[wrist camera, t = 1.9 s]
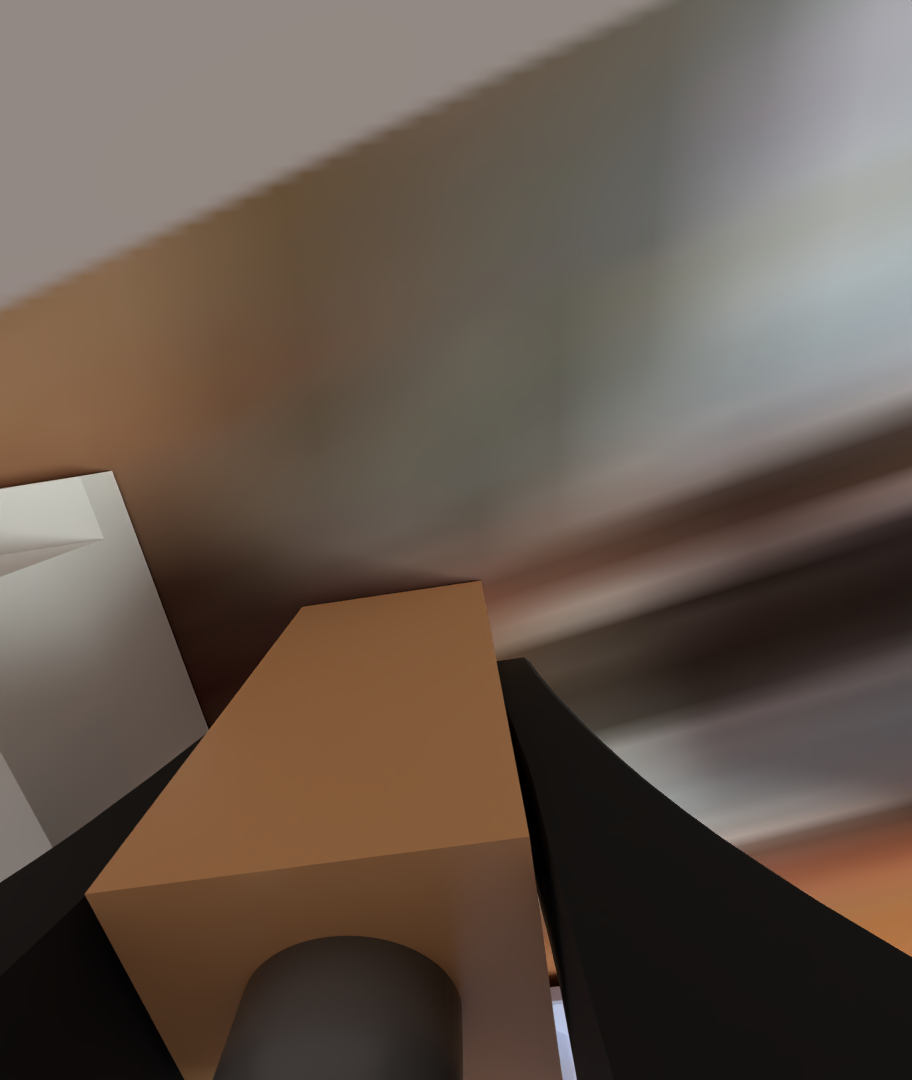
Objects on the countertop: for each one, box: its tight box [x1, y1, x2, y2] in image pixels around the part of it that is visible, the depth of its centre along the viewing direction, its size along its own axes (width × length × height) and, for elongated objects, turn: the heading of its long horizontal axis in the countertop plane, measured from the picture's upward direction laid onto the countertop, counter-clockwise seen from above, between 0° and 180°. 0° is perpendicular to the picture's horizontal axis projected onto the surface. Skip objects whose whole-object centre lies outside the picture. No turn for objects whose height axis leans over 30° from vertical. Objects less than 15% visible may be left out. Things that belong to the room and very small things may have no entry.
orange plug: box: [85, 581, 563, 1080], centre depth 7 cm, size 4×4×7 cm
